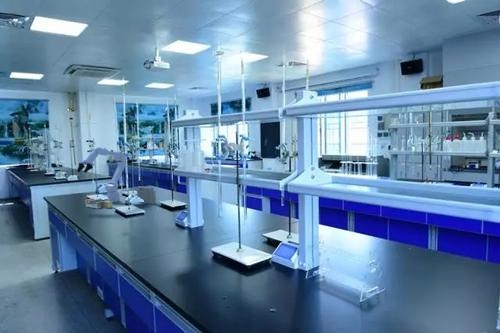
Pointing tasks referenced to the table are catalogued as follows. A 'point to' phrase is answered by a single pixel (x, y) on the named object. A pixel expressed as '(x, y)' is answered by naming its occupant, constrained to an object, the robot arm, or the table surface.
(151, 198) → the geiger counter
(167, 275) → the table surface
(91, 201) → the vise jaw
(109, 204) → the brass block
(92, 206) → the vise bed
